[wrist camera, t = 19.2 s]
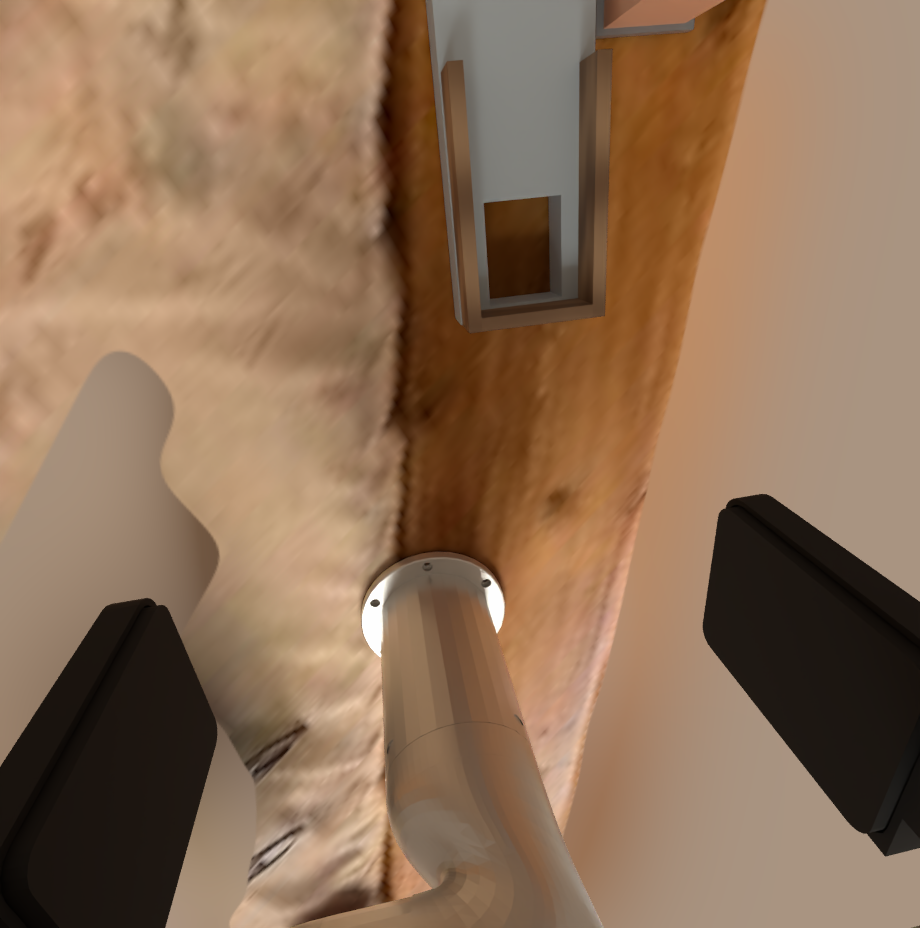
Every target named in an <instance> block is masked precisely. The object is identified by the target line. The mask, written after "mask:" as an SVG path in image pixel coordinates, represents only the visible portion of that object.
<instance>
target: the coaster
mask: <svg viewBox="0 0 920 928" xmlns="http://www.w3.org/2000/svg"><path fill="white" fill-rule="evenodd" d="M694 21H695V18H693V19H692V20H690V21H688V22H686V23H681V24H666V25H652V26H638V27H624V28H609V29H604V0H596V30H595V39H601V38H615V37H628V36H642V35H656V34H670V33H684V32H690V31H691V30H693V29H694Z"/></svg>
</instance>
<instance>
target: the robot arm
mask: <svg viewBox="0 0 920 928" xmlns="http://www.w3.org/2000/svg"><path fill="white" fill-rule="evenodd" d="M504 615H505V601H504V596H503V592H502V590H501V587H500V584H499V582H498V581H497V579H496V577H495V576H494V574H493V573H492V572H491V571H490V570H489V569H488V568H487V567H486V566H485V565H483V564H481V563H480V562H478V561H477V560H475V559H473V558H470V557H468V556H465V555H462V554H457V553H452V552H429V553H421V554H418V555H415V556H411V557H408V558H406V559H404V560H401V561H399V562H397V563H395V564H394V565H392V566H391V567H389V568H388V569H386V570H385V571H384V572H383V573H382V574H381V575H380V576H379V577H378V578H377V579H376V580H375V581H374V582H373V583H372V585H371V586H370V588H369V589H368V591H367V593H366V596H365V598H364V601H363V605H362V611H361V626H362V630H363V635H364V637H365V639H366V641H367V643H368V645H369V646H370V648H371V649H372V650H373V651H374V652H375V653H376V654H377V655H378V656H379V657H381V667H382V695H383V722H384V749H385V777H386V805H387V813H388V817H389V821H390V826H391V829H392V832H393V834H394V836H395V839H396V841H397V843H398V845H399V847H400V848H401V850H402V852H403V853H404V855H405V856H406V858H407V859H408V861H409V862H410V863H411V865H412V866H413V867H414V868H415V870H416V871H417V872H418V873H419V874H420V875H421V877H422V878H423V879H424V880H425V881H426V882H427V883H428V884H429V885H430V886H431V887H432V889H431V890H428V891H425V892H421V893H418V894H414V895H413V896H412V897H408V898H404V899H400V900H395V901H391V902H387V903H383V904H378V905H374V906H370V907H366V908H361V909H357V910H353V911H349V912H344V913H340V914H336V915H332V916H327V917H325V918H321V919H317V920H313V921H309V922H306V923H302V924H299V925H296V926H293V927H290V928H604V927H603V925H602V923H601V921H600V919H599V917H598V915H597V913H596V910H595V908H594V906H593V904H592V902H591V900H590V898H589V896H588V894H587V892H586V890H585V887H584V886H583V883H582V881H581V879H580V877H579V875H578V872H577V870H576V868H575V866H574V864H573V861H572V859H571V857H570V854H569V852H568V850H567V847H566V845H565V842H564V840H563V837H562V835H561V832H560V829H559V827H558V824H557V821H556V819H555V816H554V813H553V811H552V808H551V805H550V802H549V799H548V796H547V793H546V790H545V787H544V784H543V781H542V778H541V774H540V771H539V768H538V765H537V762H536V758H535V755H534V752H533V749H532V746H531V742H530V739H529V736H528V733H527V730H526V726H525V723H524V720H523V717H522V713H521V710H520V707H519V704H518V701H517V697H516V694H515V691H514V688H513V684H512V681H511V678H510V675H509V672H508V668H507V665H506V662H505V659H504V655H503V652H502V649H501V646H500V643H499V639H498V636H497V633H498V631H499V630H500V628H501V626H502V622H503V619H504ZM703 632H704V636H705V639H706V641H707V643H708V645H709V646H710V647H711V649H712V650H713V651H714V653H715V654H716V655H717V656H718V658H719V659H720V660H721V661H722V663H723V664H724V665H725V667H726V668H727V669H728V670H729V672H730V673H731V674H732V675H733V676H734V678H735V679H736V680H737V682H738V683H739V684H740V686H741V687H742V688H743V689H744V691H745V692H746V693H747V694H748V696H749V697H750V698H751V700H752V701H753V702H754V703H755V705H756V706H757V707H758V708H759V710H760V711H761V712H762V714H763V715H764V716H765V717H766V719H767V720H768V721H769V722H770V724H771V725H772V726H773V728H774V729H775V730H776V731H777V733H778V734H779V735H780V736H781V738H782V739H783V740H784V741H785V743H786V744H787V745H788V747H789V748H790V749H791V750H792V752H793V753H794V754H795V755H796V757H797V758H798V759H799V761H800V762H801V763H802V764H803V765H804V767H805V768H806V769H807V771H808V772H809V773H810V774H811V776H812V777H813V778H814V780H815V781H816V782H817V783H818V785H819V786H820V787H821V788H822V790H823V791H824V792H825V794H826V795H827V796H828V797H829V799H830V800H831V801H832V802H833V804H834V805H835V806H836V808H837V809H838V810H839V811H840V813H841V814H842V815H843V816H844V818H845V819H846V820H847V821H848V822H849V823H850V825H851V826H852V827H854V828H855V829H856V830H857V831H859V832H861V833H867V834H868V836H869V837H870V838H871V839H872V841H873V842H874V843H875V844H876V846H877V847H878V848H879V849H880V851H881V852H882V853H883V854H884V856H889V855H893V854H897V853H901V852H905V851H909V850H913V849H917V848H920V602H919V601H918V600H917V599H915V598H914V597H912V596H911V595H909V594H908V593H907V592H905V591H904V590H902V589H901V588H900V587H898V586H897V585H895V584H894V583H893V582H891V581H890V580H888V579H887V578H886V577H884V576H882V575H881V574H880V573H878V572H877V571H876V570H874V569H873V568H871V567H870V566H869V565H867V564H866V563H864V562H863V561H861V560H860V559H859V558H857V557H856V556H855V555H853V554H852V553H850V552H849V551H847V550H846V549H845V548H843V547H842V546H840V545H839V544H837V543H836V542H835V541H833V540H832V539H831V538H829V537H828V536H826V535H825V534H823V533H822V532H821V531H819V530H818V529H816V528H815V527H813V526H812V525H811V524H809V523H808V522H806V521H805V520H804V519H802V518H801V517H800V516H798V515H797V514H795V513H794V512H792V511H791V510H790V509H788V508H787V507H785V506H784V505H783V504H781V503H780V502H778V501H777V500H776V499H774V498H773V497H771V496H769V495H767V494H759V495H753V496H747V497H741V498H736V499H732V500H730V501H729V502H728V504H727V505H726V509H723V510H721V512H720V513H719V517H718V522H717V529H716V536H715V543H714V550H713V558H712V564H711V571H710V578H709V585H708V591H707V599H706V606H705V612H704V619H703ZM216 741H217V724H216V720H215V717H214V715H213V713H212V710H211V708H210V706H209V703H208V701H207V699H206V696H205V694H204V692H203V689H202V687H201V685H200V682H199V680H198V678H197V675H196V673H195V671H194V668H193V666H192V664H191V661H190V659H189V657H188V654H187V652H186V650H185V647H184V645H183V643H182V640H181V638H180V636H179V633H178V631H177V629H176V626H175V624H174V622H173V620H172V617H171V615H170V612H169V611H168V609H167V607H165V606H164V605H158V606H157V605H156V604H155V602H154V601H153V600H152V599H149V598H144V599H138V600H132V601H127V602H121V603H115V604H110V605H108V606H106V607H105V608H104V609H103V610H102V612H101V613H100V615H99V616H98V618H97V619H96V621H95V622H94V624H93V625H92V627H91V629H90V630H89V631H88V633H87V635H86V636H85V638H84V639H83V641H82V642H81V644H80V645H79V647H78V648H77V650H76V651H75V653H74V655H73V656H72V658H71V659H70V661H69V662H68V664H67V665H66V667H65V668H64V670H63V671H62V673H61V674H60V676H59V677H58V679H57V681H56V682H55V684H54V685H53V687H52V688H51V690H50V692H49V693H48V694H47V696H46V697H45V699H44V701H43V702H42V704H41V705H40V707H39V708H38V710H37V711H36V713H35V714H34V716H33V717H32V719H31V721H30V722H29V724H28V725H27V727H26V728H25V730H24V731H23V733H22V734H21V736H20V737H19V739H18V740H17V742H16V743H15V745H14V747H13V748H12V750H11V751H10V753H9V754H8V756H7V757H6V759H5V760H4V762H3V763H2V765H1V767H0V928H165V926H166V922H167V919H168V915H169V912H170V908H171V905H172V901H173V897H174V894H175V890H176V887H177V883H178V879H179V876H180V872H181V869H182V865H183V861H184V858H185V854H186V850H187V847H188V843H189V840H190V836H191V832H192V829H193V825H194V821H195V818H196V814H197V811H198V807H199V804H200V800H201V797H202V793H203V789H204V786H205V782H206V779H207V775H208V771H209V768H210V764H211V761H212V757H213V753H214V750H215V746H216ZM913 928H920V926H917V927H913Z"/></svg>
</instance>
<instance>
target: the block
mask: <svg viewBox="0 0 920 928" xmlns="http://www.w3.org/2000/svg"><path fill="white" fill-rule="evenodd" d="M723 1H725V0H604V29H609V28H624V27H638V26H652V25H666V24H681V23H686V22H688V21H690V20H692V19H693V18H695V17H697V16H699V15H700V14H702V13H704V12H706V11H707V10H709V9H711V8H712V7H714V6H716V5H718V4H719V3H721V2H723Z"/></svg>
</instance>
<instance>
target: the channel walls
mask: <svg viewBox="0 0 920 928" xmlns="http://www.w3.org/2000/svg"><path fill="white" fill-rule="evenodd" d="M612 50H613V49H602V50H597V51H595V52H594V53H592V54H591V55H589V56H588V57H586V58H585V59H583V60H582V61H580V62H579V207H578V298H575V299H567V300H559V301H551V302H543V303H534V304H526V305H518V306H510V307H502V308H494V309H486V310H481V304H480V290H479V276H478V262H477V248H476V234H475V220H474V206H473V193H472V179H471V165H470V151H469V137H468V123H467V109H466V95H465V81H464V68H463V60H455V61H447V62H446V64H445V66H444V67H443V69H442V71H441V84H442V96H443V107H444V119H445V130H446V141H447V153H448V164H449V175H450V187H451V198H452V210H453V221H454V232H455V244H456V255H457V267H458V278H459V289H460V301H461V312H462V323H463V326H464V327H465V328H466V330H467V331H468V332H469V333H476V332H484V331H492V330H500V329H508V328H515V327H523V326H531V325H539V324H547V323H554V322H562V321H570V320H578V319H586V318H593V317H601V316H605V296H606V261H607V226H608V191H609V155H610V120H611V85H612Z"/></svg>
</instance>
